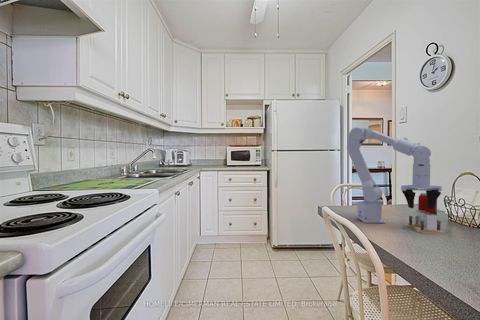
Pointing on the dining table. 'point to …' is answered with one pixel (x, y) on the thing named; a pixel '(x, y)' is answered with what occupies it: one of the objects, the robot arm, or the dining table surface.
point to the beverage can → (423, 204)
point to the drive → (425, 220)
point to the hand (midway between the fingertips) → (420, 207)
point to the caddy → (423, 227)
